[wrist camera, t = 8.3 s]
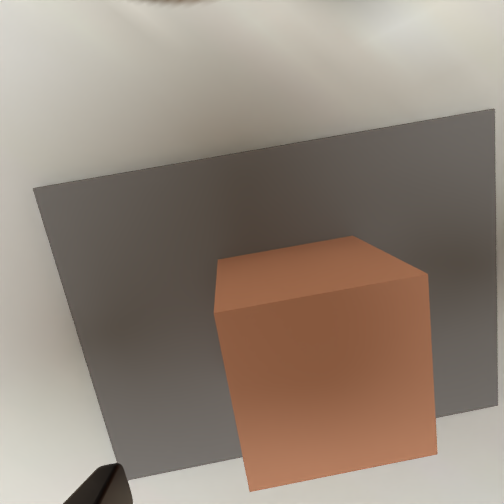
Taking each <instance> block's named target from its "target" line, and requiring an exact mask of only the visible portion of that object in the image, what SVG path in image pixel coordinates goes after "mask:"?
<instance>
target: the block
mask: <svg viewBox="0 0 504 504" xmlns="http://www.w3.org/2000/svg"><path fill="white" fill-rule="evenodd" d="M214 318H215V322H216V327H217V332H218V337H219V342H220V347H221V352H222V357H223V362H224V367H225V372H226V377H227V382H228V387H229V392H230V396H231V401H232V406H233V411H234V416H235V421H236V426H237V431H238V436H239V441H240V446H241V451H242V456H243V461H244V465H245V470H246V475H247V480H248V485H249V490H250V492H252V491H257V490H262V489H267V488H272V487H277V486H282V485H287V484H292V483H296V482H301V481H306V480H311V479H316V478H321V477H326V476H331V475H336V474H341V473H346V472H351V471H356V470H361V469H366V468H371V467H376V466H381V465H386V464H391V463H396V462H401V461H406V460H411V459H416V458H421V457H426V456H431V455H436V454H437V436H436V417H435V398H434V379H433V360H432V340H431V321H430V302H429V283H428V274H427V273H425V272H423V271H421V270H419V269H417V268H415V267H413V266H411V265H409V264H408V263H406V262H404V261H402V260H400V259H398V258H396V257H394V256H392V255H390V254H388V253H386V252H384V251H382V250H380V249H378V248H376V247H374V246H372V245H370V244H368V243H366V242H364V241H362V240H360V239H359V238H357V237H355V236H348V237H342V238H336V239H331V240H325V241H320V242H314V243H308V244H303V245H297V246H291V247H286V248H280V249H275V250H269V251H263V252H258V253H252V254H246V255H241V256H235V257H230V258H224V259H218V263H217V276H216V289H215V302H214Z"/></svg>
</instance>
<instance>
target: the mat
mask: <svg viewBox="0 0 504 504" xmlns="http://www.w3.org/2000/svg"><path fill="white" fill-rule="evenodd" d="M33 191H34V194H35V197H36V201H37V204H38V207H39V210H40V214H41V217H42V220H43V223H44V227H45V230H46V233H47V236H48V240H49V243H50V246H51V249H52V253H53V256H54V259H55V262H56V266H57V269H58V272H59V275H60V279H61V282H62V285H63V288H64V292H65V295H66V298H67V301H68V305H69V308H70V311H71V314H72V318H73V321H74V324H75V327H76V331H77V334H78V337H79V340H80V344H81V347H82V350H83V353H84V357H85V360H86V363H87V366H88V370H89V373H90V376H91V379H92V383H93V386H94V389H95V392H96V396H97V399H98V402H99V405H100V409H101V412H102V415H103V418H104V422H105V425H106V428H107V431H108V435H109V438H110V441H111V444H112V448H113V451H114V454H115V457H116V461H117V463H120V464H121V465H122V466H123V468H124V471H125V474H126V477H127V480H131V479H136V478H141V477H146V476H151V475H156V474H161V473H166V472H171V471H176V470H181V469H186V468H191V467H196V466H201V465H205V464H210V463H215V462H220V461H225V460H230V459H235V458H240V457H243V456H242V451H241V446H240V441H239V436H238V431H237V426H236V421H235V416H234V411H233V406H232V401H231V396H230V392H229V387H228V382H227V377H226V372H225V367H224V362H223V357H222V352H221V347H220V342H219V337H218V332H217V327H216V322H215V318H214V302H215V289H216V276H217V263H218V259H224V258H230V257H235V256H241V255H246V254H252V253H258V252H263V251H269V250H275V249H280V248H286V247H291V246H297V245H303V244H308V243H314V242H320V241H325V240H331V239H336V238H342V237H348V236H355V237H357V238H359V239H360V240H362V241H364V242H366V243H368V244H370V245H372V246H374V247H376V248H378V249H380V250H382V251H384V252H386V253H388V254H390V255H392V256H394V257H396V258H398V259H400V260H402V261H404V262H406V263H408V264H409V265H411V266H413V267H415V268H417V269H419V270H421V271H423V272H425V273H427V274H428V283H429V302H430V321H431V340H432V360H433V379H434V398H435V417H436V418H438V417H443V416H448V415H453V414H458V413H463V412H468V411H473V410H478V409H483V408H488V407H493V406H498V373H497V282H496V190H495V109H489V110H484V111H478V112H472V113H466V114H461V115H455V116H449V117H443V118H437V119H432V120H426V121H420V122H414V123H408V124H403V125H397V126H391V127H385V128H379V129H374V130H368V131H362V132H356V133H351V134H345V135H339V136H333V137H327V138H322V139H316V140H310V141H304V142H298V143H293V144H287V145H281V146H275V147H270V148H264V149H258V150H252V151H246V152H241V153H235V154H229V155H223V156H217V157H212V158H206V159H200V160H194V161H189V162H183V163H177V164H171V165H165V166H160V167H154V168H148V169H142V170H136V171H131V172H125V173H119V174H113V175H107V176H102V177H96V178H90V179H84V180H79V181H73V182H67V183H61V184H55V185H50V186H44V187H38V188H33Z"/></svg>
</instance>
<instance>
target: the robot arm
mask: <svg viewBox="0 0 504 504" xmlns="http://www.w3.org/2000/svg"><path fill="white" fill-rule="evenodd" d="M63 504H133V499H132V494H131V491H130V487H129V484H128V481H127V477H126V474H125V471H124V468H123V466H122V465H121V464H120V463H114V464H109V465H104V466H101V467H99V468H97V469H96V470H95V471H94V472H93V473H92V474H91V475H90V476H89V477H88V478H87V479H86V481H85V482H84V483H83V484H82V485H81V486H80V487H79V488H78V489H77V490H76V491H75V492H74V493H73V494H72V495H71V496H70V497H69V498H68V499H67V500H66V501H65V502H64V503H63Z"/></svg>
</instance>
